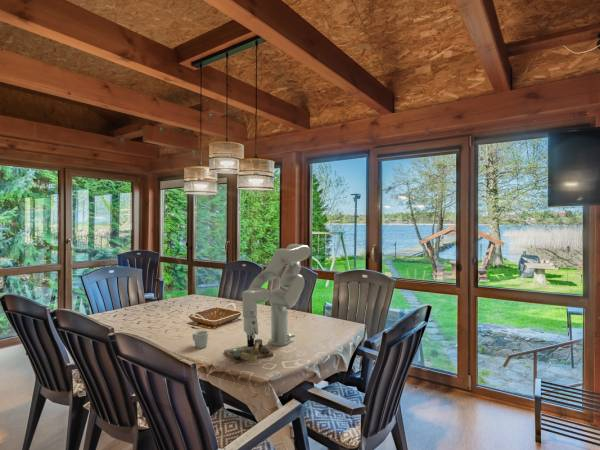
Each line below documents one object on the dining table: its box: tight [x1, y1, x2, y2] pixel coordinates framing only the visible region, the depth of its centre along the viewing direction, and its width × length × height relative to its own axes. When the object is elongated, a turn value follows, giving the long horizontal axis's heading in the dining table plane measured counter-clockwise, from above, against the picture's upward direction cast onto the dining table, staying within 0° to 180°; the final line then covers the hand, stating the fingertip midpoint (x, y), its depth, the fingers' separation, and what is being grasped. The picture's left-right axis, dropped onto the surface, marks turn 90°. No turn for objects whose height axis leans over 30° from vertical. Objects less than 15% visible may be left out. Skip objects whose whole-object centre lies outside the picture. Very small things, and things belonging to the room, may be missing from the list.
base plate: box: [223, 344, 274, 365], centre depth 189 cm, size 21×18×4 cm
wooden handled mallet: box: [234, 350, 258, 363], centre depth 178 cm, size 13×4×3 cm, turn 62°
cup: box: [192, 330, 209, 349], centre depth 201 cm, size 11×8×8 cm
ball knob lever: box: [254, 338, 263, 353], centre depth 192 cm, size 13×4×3 cm, turn 2°
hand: (250, 346), depth 192 cm, fingers closed
